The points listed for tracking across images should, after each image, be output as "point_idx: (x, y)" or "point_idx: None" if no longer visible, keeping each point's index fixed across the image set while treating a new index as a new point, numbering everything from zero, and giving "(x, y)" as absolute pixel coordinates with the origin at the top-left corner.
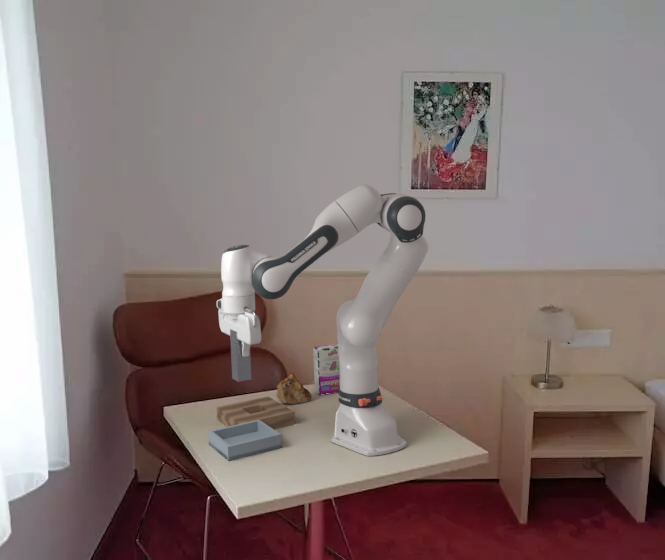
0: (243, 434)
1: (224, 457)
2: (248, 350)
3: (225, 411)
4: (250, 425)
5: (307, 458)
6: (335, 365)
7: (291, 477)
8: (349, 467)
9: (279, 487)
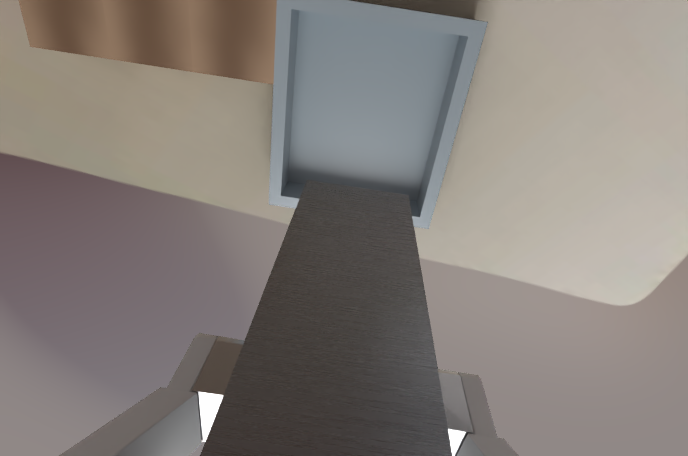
0: (295, 74)
1: None
2: (493, 431)
3: (103, 48)
4: (291, 45)
5: (628, 4)
6: None
7: (666, 145)
8: None
9: (670, 204)
